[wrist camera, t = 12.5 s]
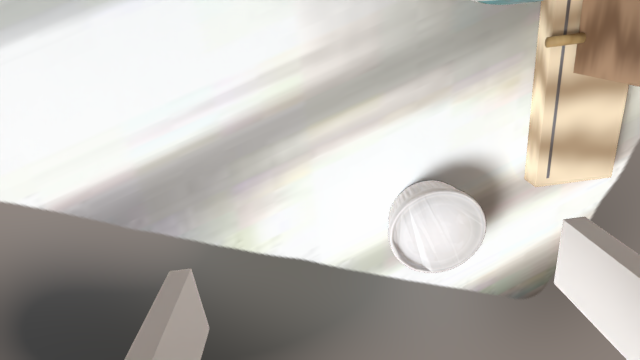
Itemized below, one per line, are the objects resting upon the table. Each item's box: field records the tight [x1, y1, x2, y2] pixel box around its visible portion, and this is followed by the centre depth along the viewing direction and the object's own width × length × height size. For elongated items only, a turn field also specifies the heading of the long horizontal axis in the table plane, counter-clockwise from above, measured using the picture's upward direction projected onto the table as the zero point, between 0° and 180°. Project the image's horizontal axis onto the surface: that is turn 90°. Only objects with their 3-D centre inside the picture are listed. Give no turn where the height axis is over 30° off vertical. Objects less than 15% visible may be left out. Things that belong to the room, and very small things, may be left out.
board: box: [524, 0, 629, 187], centre depth 42 cm, size 24×9×3 cm, turn 7°
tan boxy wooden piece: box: [545, 0, 640, 86], centre depth 34 cm, size 7×8×11 cm
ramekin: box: [388, 180, 486, 273], centre depth 47 cm, size 11×11×5 cm
